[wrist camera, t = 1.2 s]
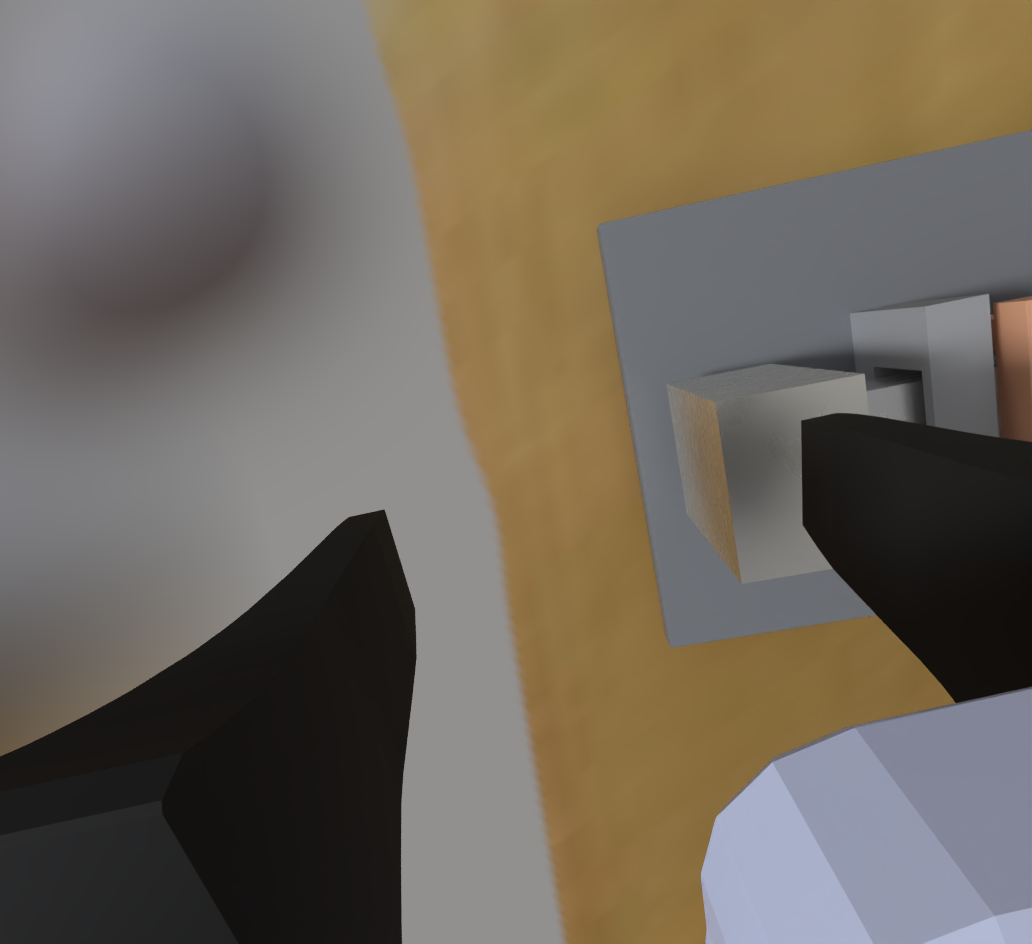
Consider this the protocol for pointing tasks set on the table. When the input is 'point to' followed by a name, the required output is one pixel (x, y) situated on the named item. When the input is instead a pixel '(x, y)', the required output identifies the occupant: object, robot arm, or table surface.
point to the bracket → (812, 330)
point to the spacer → (1014, 365)
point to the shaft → (769, 454)
